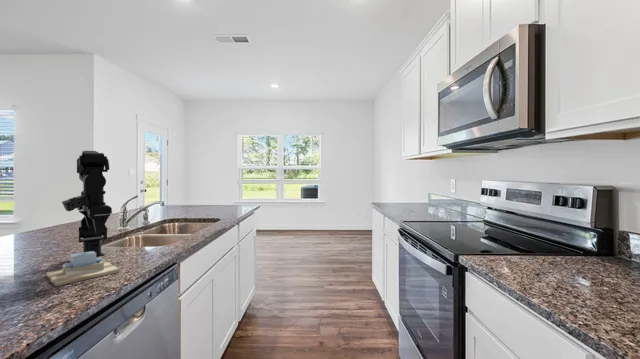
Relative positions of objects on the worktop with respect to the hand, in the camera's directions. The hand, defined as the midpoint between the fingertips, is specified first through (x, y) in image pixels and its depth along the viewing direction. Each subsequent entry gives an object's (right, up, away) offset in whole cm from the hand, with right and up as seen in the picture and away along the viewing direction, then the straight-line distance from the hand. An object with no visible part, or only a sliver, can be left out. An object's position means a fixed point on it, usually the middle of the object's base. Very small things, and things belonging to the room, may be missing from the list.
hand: (94, 231), depth 108 cm
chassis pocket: (+4, -12, -9) cm, 16 cm away
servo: (+4, -11, -9) cm, 15 cm away
